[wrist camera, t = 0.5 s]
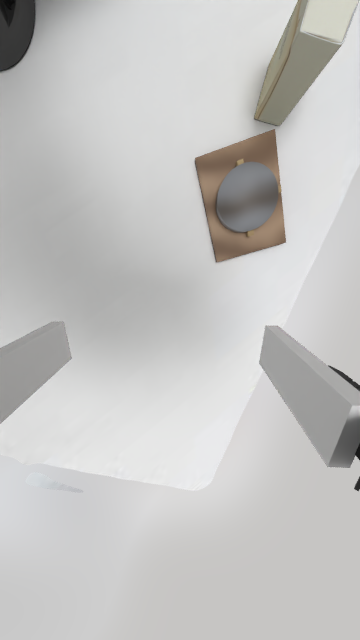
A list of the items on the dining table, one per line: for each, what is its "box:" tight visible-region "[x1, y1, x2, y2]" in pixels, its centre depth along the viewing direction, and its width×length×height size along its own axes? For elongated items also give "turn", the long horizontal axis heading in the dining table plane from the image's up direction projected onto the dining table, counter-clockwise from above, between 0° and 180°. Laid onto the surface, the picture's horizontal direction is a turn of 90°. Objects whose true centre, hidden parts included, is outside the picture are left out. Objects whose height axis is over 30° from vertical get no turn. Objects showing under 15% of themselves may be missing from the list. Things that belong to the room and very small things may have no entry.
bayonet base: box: [195, 129, 286, 262], centre depth 30 cm, size 16×12×4 cm
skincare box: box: [254, 0, 359, 126], centre depth 21 cm, size 6×4×12 cm
